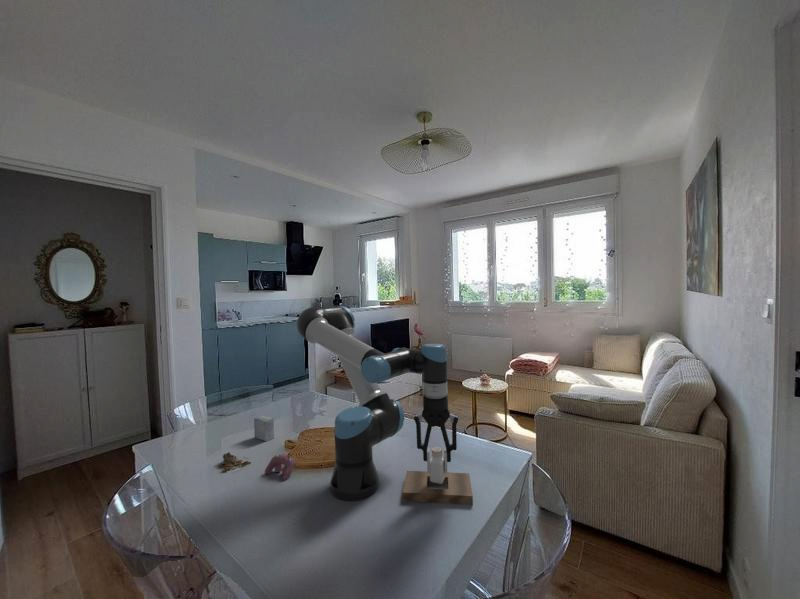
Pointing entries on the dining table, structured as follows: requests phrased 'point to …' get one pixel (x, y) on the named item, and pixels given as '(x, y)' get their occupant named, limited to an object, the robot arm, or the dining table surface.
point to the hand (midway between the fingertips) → (437, 471)
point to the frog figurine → (233, 463)
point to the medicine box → (264, 428)
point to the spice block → (455, 493)
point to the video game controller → (278, 462)
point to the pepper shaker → (437, 466)
